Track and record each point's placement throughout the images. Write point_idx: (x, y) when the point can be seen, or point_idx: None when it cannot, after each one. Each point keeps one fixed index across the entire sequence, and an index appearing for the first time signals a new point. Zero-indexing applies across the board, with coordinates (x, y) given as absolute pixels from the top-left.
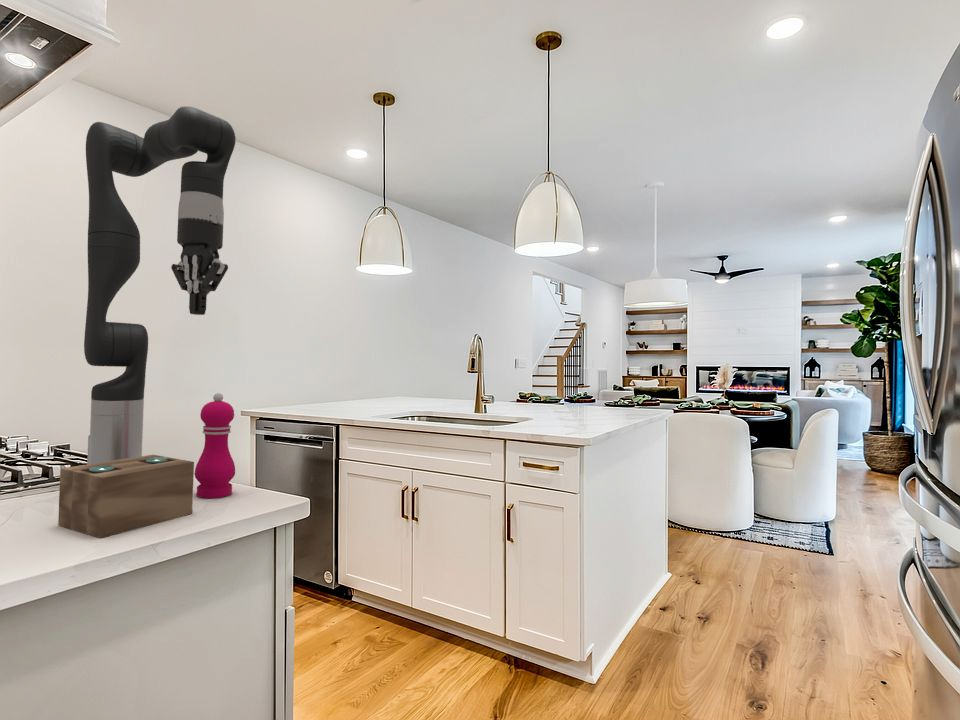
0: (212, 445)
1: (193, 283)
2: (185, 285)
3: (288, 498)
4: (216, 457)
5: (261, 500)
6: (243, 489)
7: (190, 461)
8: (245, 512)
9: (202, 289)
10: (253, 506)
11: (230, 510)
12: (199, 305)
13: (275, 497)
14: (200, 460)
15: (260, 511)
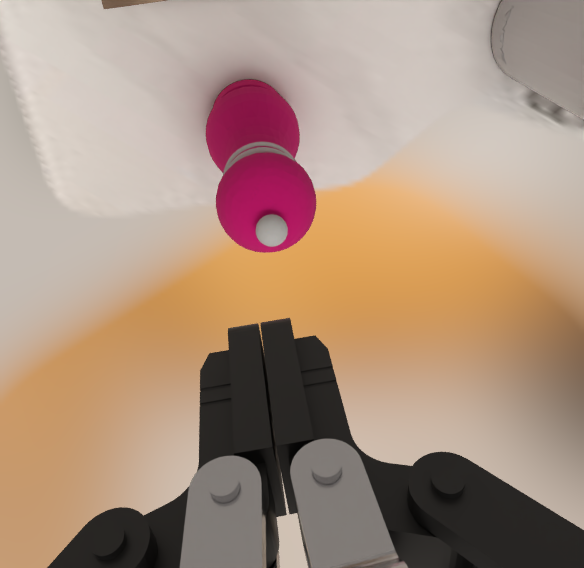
0: (239, 142)
1: (310, 563)
2: (414, 506)
3: (108, 203)
4: (224, 136)
5: (130, 157)
6: None
7: (114, 4)
8: (56, 79)
9: (114, 511)
10: (93, 119)
11: (94, 66)
12: (200, 387)
13: (134, 190)
14: (261, 109)
15: (43, 106)
